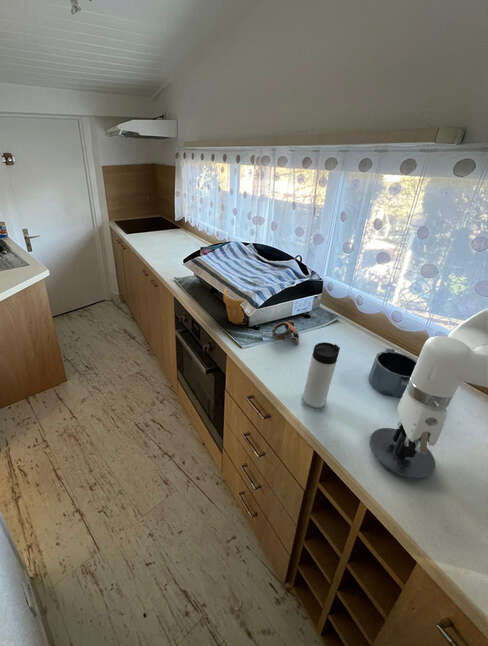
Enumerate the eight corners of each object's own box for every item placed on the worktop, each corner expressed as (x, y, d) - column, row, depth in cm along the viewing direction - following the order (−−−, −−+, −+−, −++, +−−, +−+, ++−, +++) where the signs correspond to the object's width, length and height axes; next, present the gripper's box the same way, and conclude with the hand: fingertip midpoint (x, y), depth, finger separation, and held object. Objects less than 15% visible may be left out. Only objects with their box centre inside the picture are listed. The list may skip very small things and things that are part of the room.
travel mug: (329, 408, 89) (345, 353, 80) (308, 411, 88) (322, 355, 79) (318, 392, 94) (332, 339, 85) (298, 395, 93) (310, 342, 84)
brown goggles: (299, 350, 114) (290, 335, 111) (275, 352, 120) (266, 337, 117) (304, 328, 122) (296, 313, 119) (282, 330, 128) (274, 316, 125)
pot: (403, 370, 103) (411, 349, 99) (423, 409, 88) (434, 387, 84) (363, 364, 106) (369, 344, 102) (375, 401, 91) (384, 379, 87)
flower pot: (259, 327, 128) (262, 299, 122) (225, 328, 127) (227, 301, 121) (250, 310, 140) (253, 285, 134) (220, 312, 140) (221, 286, 133)
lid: (421, 437, 78) (430, 418, 75) (444, 487, 67) (456, 468, 64) (363, 426, 82) (369, 408, 78) (376, 472, 70) (384, 453, 67)
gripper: (469, 425, 57) (434, 485, 65) (433, 369, 71) (408, 424, 79) (423, 417, 59) (395, 476, 67) (396, 364, 72) (376, 418, 81)
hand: (402, 447), depth 73 cm, fingers closed on lid, 3 cm apart
